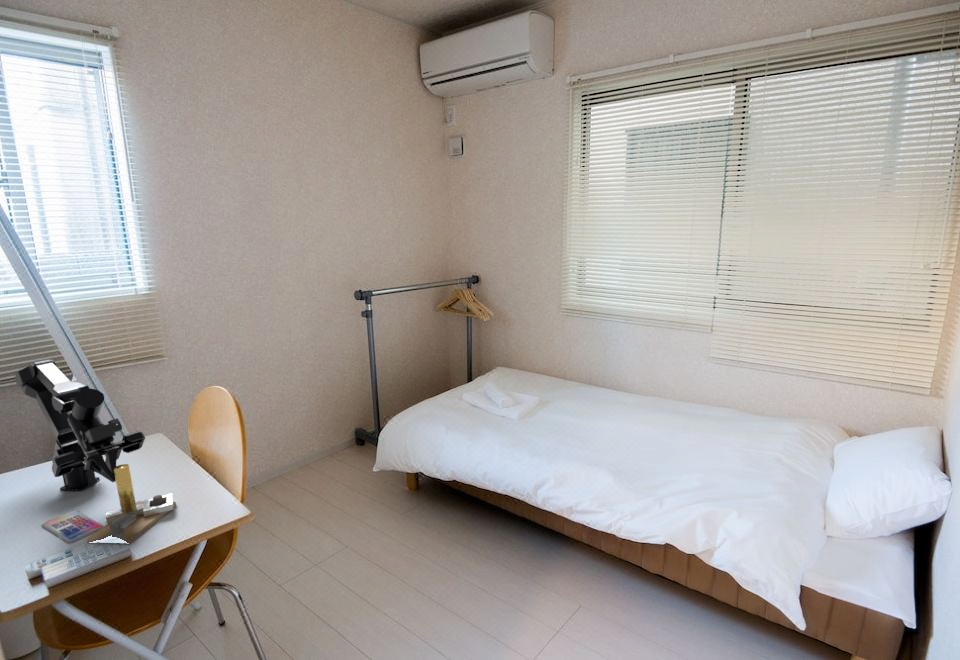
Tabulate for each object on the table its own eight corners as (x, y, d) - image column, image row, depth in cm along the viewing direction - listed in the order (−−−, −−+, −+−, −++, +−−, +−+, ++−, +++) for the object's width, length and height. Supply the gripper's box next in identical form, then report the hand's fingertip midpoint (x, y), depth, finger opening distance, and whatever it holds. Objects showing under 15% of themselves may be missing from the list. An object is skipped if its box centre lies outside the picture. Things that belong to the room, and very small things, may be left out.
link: (173, 498, 132) (165, 453, 130) (173, 509, 127) (165, 462, 124) (108, 514, 126) (99, 467, 123) (106, 526, 121) (96, 477, 118)
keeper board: (87, 543, 117) (83, 525, 116) (138, 504, 132) (136, 489, 131) (129, 544, 116) (126, 527, 115) (176, 505, 131) (173, 489, 130)
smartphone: (75, 509, 130) (105, 525, 122) (76, 512, 130) (106, 529, 123) (39, 523, 124) (68, 541, 116) (40, 527, 124) (69, 545, 116)
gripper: (45, 425, 119) (73, 481, 115) (135, 400, 134) (162, 450, 130) (41, 449, 125) (67, 504, 121) (127, 423, 140) (153, 471, 136)
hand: (115, 481), depth 127 cm, fingers closed
